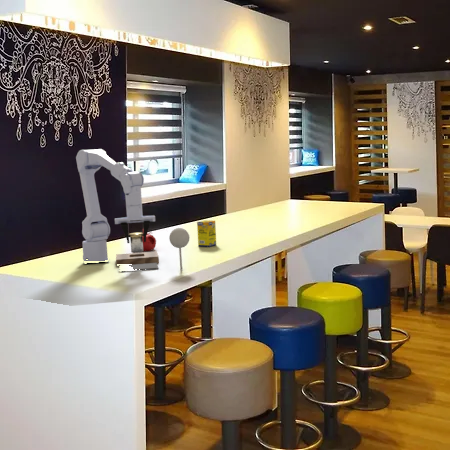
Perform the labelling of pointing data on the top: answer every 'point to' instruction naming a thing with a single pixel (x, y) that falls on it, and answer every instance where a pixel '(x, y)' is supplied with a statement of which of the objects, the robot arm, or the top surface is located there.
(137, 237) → the gold rounded piece
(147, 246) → the pomegranate
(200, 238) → the supplement box
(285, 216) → the top surface
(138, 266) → the mat
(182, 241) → the lollipop
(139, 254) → the housing
